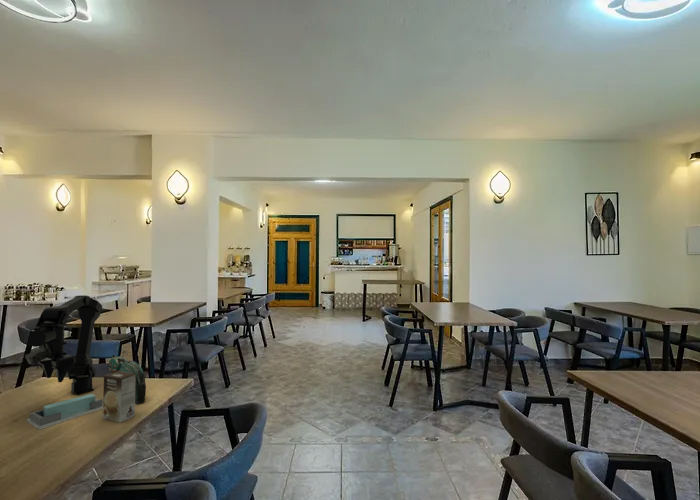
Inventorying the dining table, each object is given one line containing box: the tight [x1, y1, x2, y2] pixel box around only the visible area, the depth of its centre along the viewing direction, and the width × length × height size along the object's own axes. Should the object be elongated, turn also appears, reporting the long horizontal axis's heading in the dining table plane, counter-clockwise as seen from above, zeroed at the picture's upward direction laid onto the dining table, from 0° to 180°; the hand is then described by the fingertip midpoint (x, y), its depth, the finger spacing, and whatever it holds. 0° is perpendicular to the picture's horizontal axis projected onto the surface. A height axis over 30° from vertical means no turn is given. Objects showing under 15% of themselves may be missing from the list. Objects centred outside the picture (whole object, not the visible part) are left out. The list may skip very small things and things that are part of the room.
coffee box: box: [102, 370, 136, 424], centre depth 132 cm, size 9×6×16 cm
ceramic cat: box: [108, 350, 147, 405], centre depth 149 cm, size 20×6×20 cm, turn 63°
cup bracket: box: [26, 397, 103, 430], centre depth 134 cm, size 22×11×3 cm, turn 149°
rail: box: [42, 393, 96, 417], centre depth 134 cm, size 15×4×4 cm, turn 141°
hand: (54, 379), depth 138 cm, fingers open, 9 cm apart
